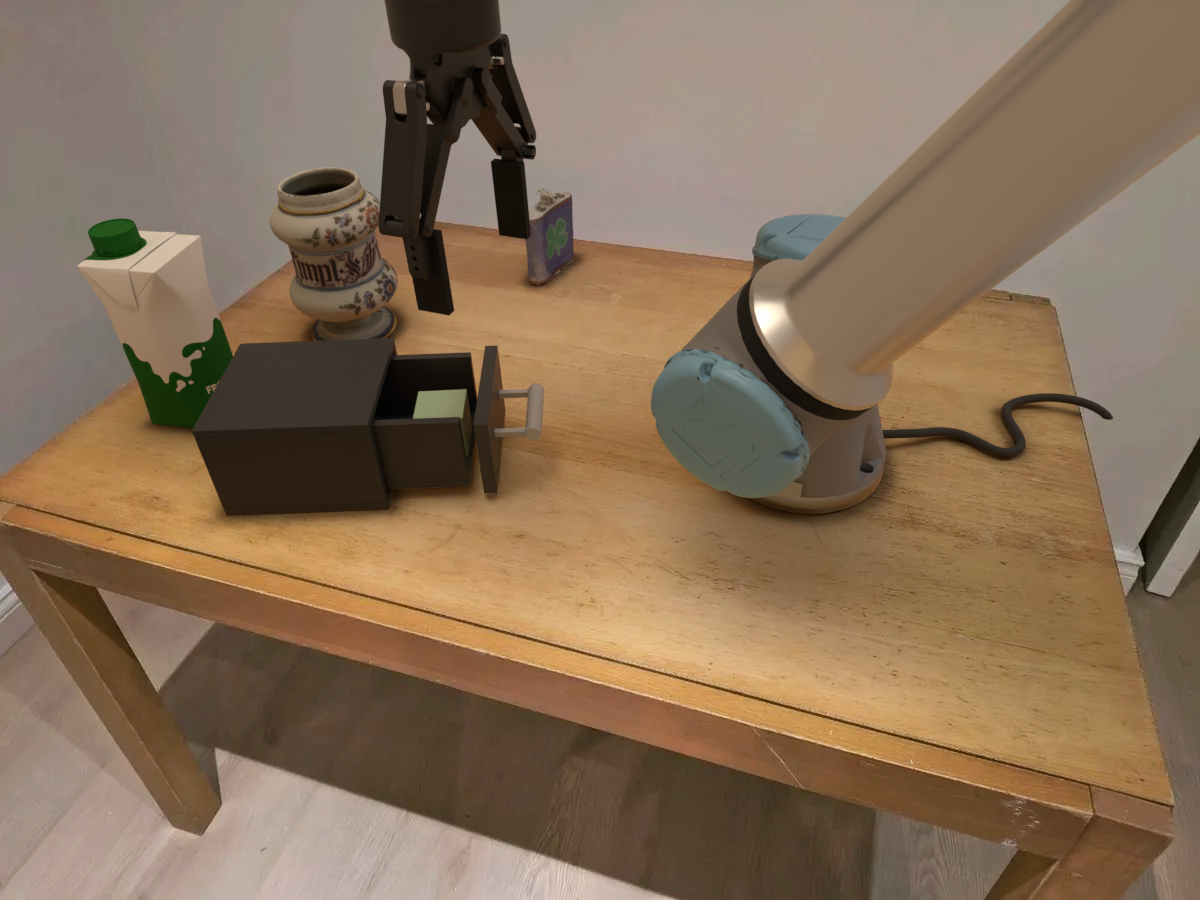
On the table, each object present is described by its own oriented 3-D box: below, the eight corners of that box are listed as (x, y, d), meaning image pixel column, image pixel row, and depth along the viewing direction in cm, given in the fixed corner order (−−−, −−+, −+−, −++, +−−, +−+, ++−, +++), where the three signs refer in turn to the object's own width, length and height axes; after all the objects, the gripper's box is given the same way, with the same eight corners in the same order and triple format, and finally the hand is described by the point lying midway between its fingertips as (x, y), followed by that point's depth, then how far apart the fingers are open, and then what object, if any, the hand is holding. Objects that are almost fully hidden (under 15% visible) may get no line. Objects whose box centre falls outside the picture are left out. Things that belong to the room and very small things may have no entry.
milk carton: (187, 380, 95) (118, 206, 82) (262, 388, 93) (204, 211, 81) (138, 428, 88) (55, 247, 76) (219, 437, 87) (148, 254, 74)
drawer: (547, 409, 87) (542, 343, 83) (544, 491, 78) (538, 422, 73) (371, 416, 87) (355, 350, 83) (346, 499, 78) (326, 430, 73)
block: (472, 427, 84) (466, 388, 81) (468, 456, 80) (462, 417, 77) (425, 429, 84) (418, 391, 81) (420, 459, 80) (412, 420, 77)
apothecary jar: (341, 296, 109) (306, 154, 97) (424, 312, 105) (398, 166, 94) (280, 346, 100) (234, 195, 89) (369, 364, 96) (333, 210, 85)
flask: (541, 287, 109) (534, 206, 102) (521, 282, 110) (514, 201, 104) (579, 257, 115) (575, 178, 108) (560, 253, 116) (555, 175, 110)
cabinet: (410, 418, 88) (394, 337, 82) (388, 509, 78) (367, 424, 72) (267, 423, 88) (240, 343, 82) (225, 515, 78) (191, 431, 72)
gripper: (477, -57, 67) (505, 204, 81) (272, 20, 50) (351, 339, 63) (566, -54, 65) (579, 214, 78) (384, 27, 47) (442, 357, 61)
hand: (478, 270), depth 71 cm, fingers open, 13 cm apart
